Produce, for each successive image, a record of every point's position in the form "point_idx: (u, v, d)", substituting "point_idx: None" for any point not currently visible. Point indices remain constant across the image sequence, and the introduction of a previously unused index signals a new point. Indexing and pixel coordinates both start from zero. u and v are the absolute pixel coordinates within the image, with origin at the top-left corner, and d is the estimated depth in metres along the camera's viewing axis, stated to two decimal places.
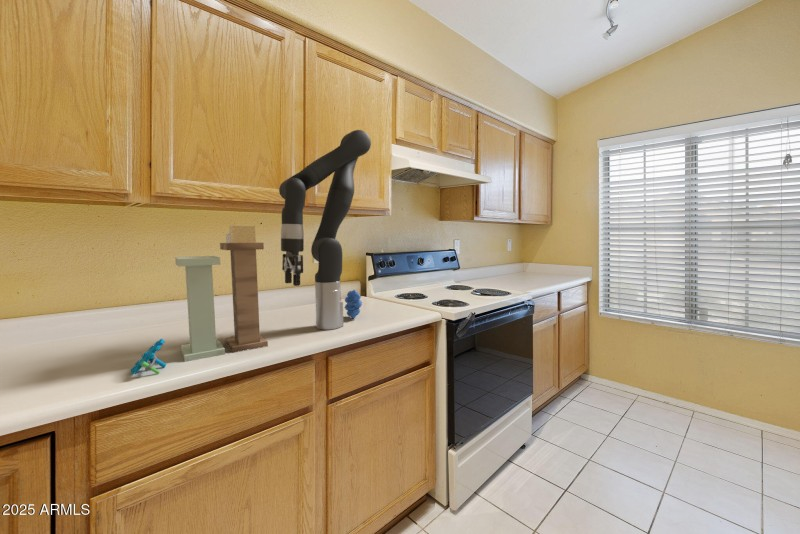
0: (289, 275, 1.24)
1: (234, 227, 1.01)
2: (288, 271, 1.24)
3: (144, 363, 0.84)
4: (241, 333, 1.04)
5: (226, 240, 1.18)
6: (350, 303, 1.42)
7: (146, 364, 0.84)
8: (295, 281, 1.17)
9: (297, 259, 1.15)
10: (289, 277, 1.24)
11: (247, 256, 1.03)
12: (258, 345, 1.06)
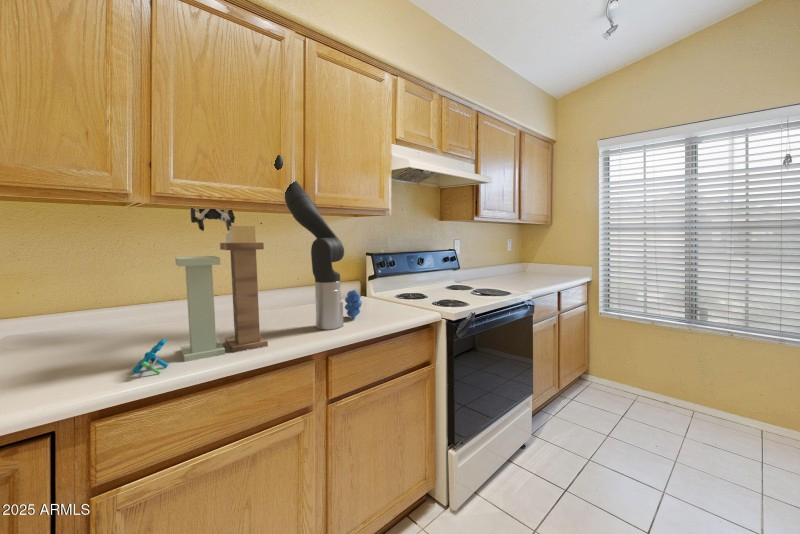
0: None
1: (234, 227, 1.01)
2: None
3: (144, 363, 0.83)
4: (241, 333, 1.04)
5: (226, 240, 1.18)
6: (350, 303, 1.42)
7: (146, 364, 0.84)
8: (230, 224, 1.29)
9: None
10: None
11: (247, 256, 1.03)
12: (258, 345, 1.06)
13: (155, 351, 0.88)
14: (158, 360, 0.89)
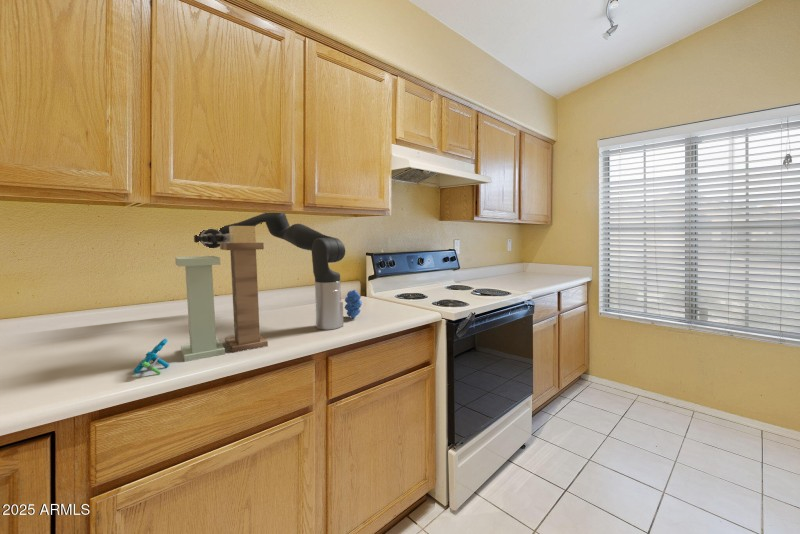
0: None
1: (234, 227, 1.01)
2: None
3: (145, 363, 0.83)
4: (241, 333, 1.04)
5: (226, 240, 1.18)
6: (350, 303, 1.42)
7: (147, 364, 0.84)
8: None
9: None
10: None
11: (247, 256, 1.03)
12: (258, 345, 1.06)
13: (156, 351, 0.88)
14: (159, 360, 0.89)
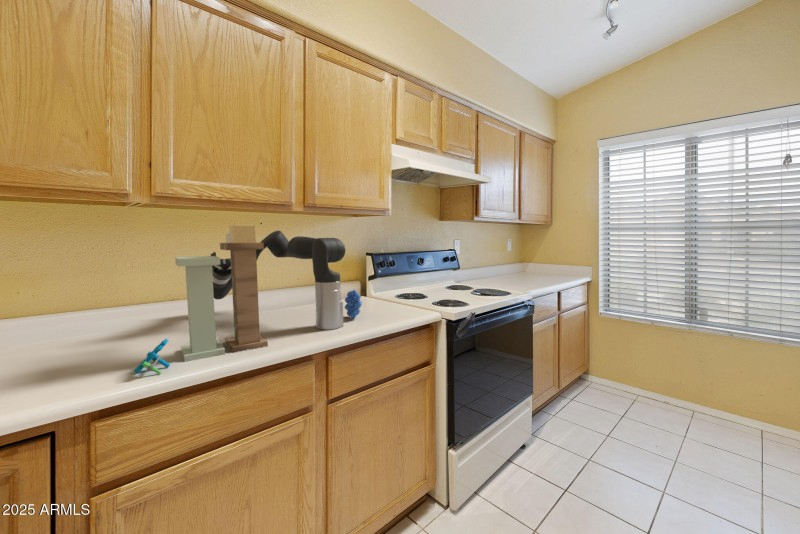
0: None
1: (234, 227, 1.01)
2: None
3: (145, 363, 0.83)
4: (241, 333, 1.04)
5: (226, 240, 1.18)
6: (350, 303, 1.42)
7: (147, 364, 0.84)
8: None
9: None
10: None
11: (247, 256, 1.03)
12: (258, 345, 1.06)
13: (156, 351, 0.88)
14: (160, 360, 0.89)
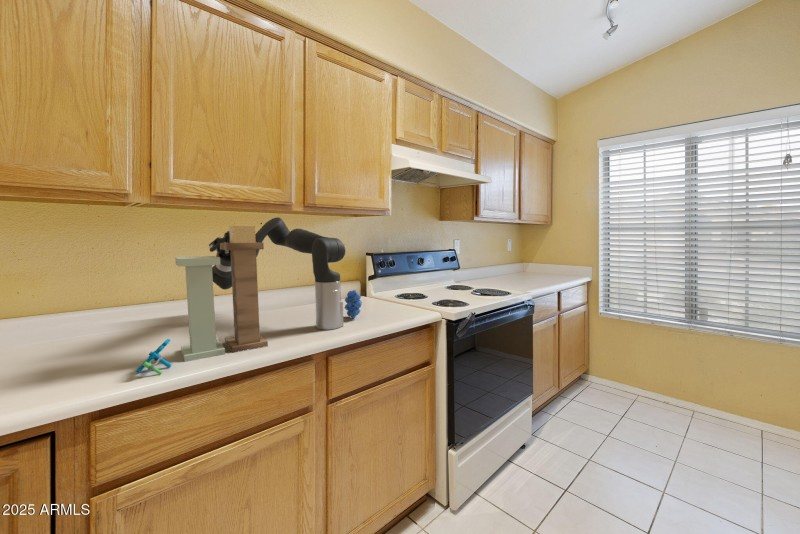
0: None
1: (234, 227, 1.01)
2: None
3: (145, 363, 0.83)
4: (241, 333, 1.04)
5: None
6: (350, 303, 1.42)
7: (147, 364, 0.84)
8: None
9: None
10: None
11: (247, 256, 1.03)
12: (258, 345, 1.06)
13: (158, 351, 0.88)
14: (161, 360, 0.89)
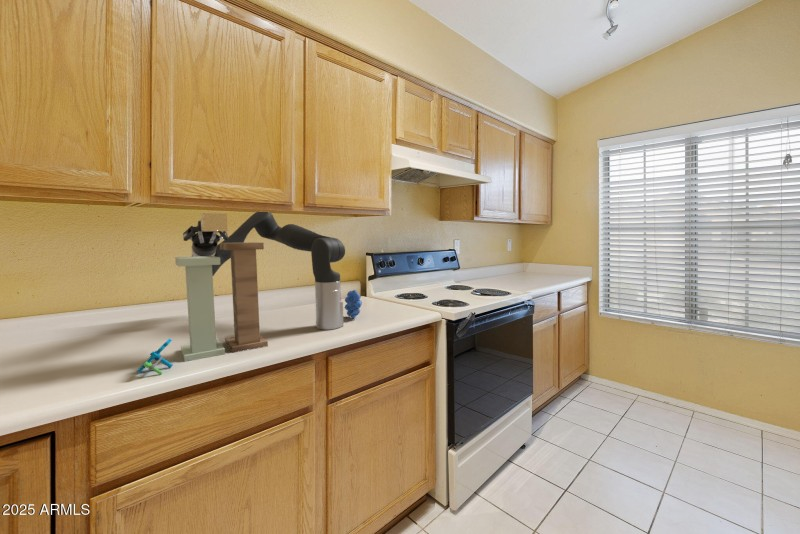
0: None
1: (204, 214, 0.97)
2: None
3: (146, 363, 0.83)
4: (241, 333, 1.04)
5: None
6: (350, 303, 1.42)
7: (148, 364, 0.84)
8: None
9: (226, 233, 1.20)
10: None
11: (247, 256, 1.03)
12: (258, 345, 1.06)
13: (159, 351, 0.88)
14: (162, 360, 0.89)
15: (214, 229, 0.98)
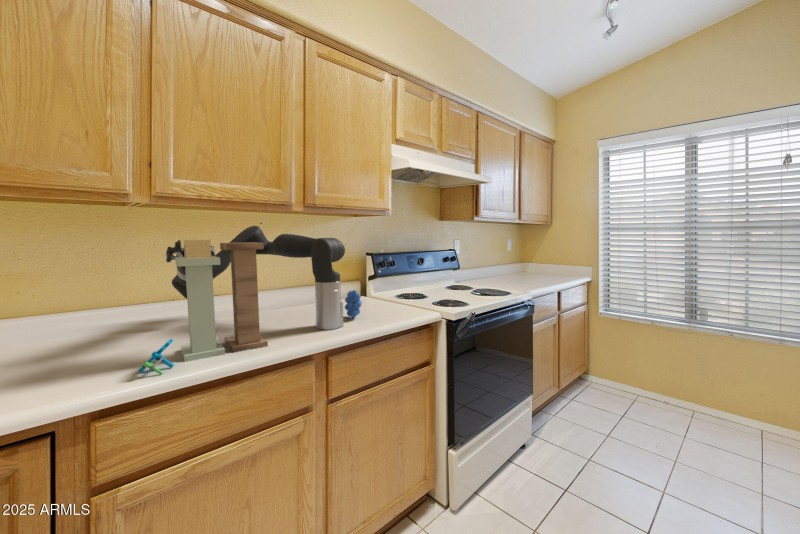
0: None
1: (186, 241, 0.94)
2: None
3: (146, 363, 0.83)
4: (241, 333, 1.04)
5: None
6: (350, 303, 1.42)
7: (148, 364, 0.83)
8: None
9: None
10: (180, 246, 1.07)
11: (247, 256, 1.03)
12: (258, 345, 1.06)
13: (160, 351, 0.87)
14: (164, 360, 0.89)
15: (197, 256, 0.96)
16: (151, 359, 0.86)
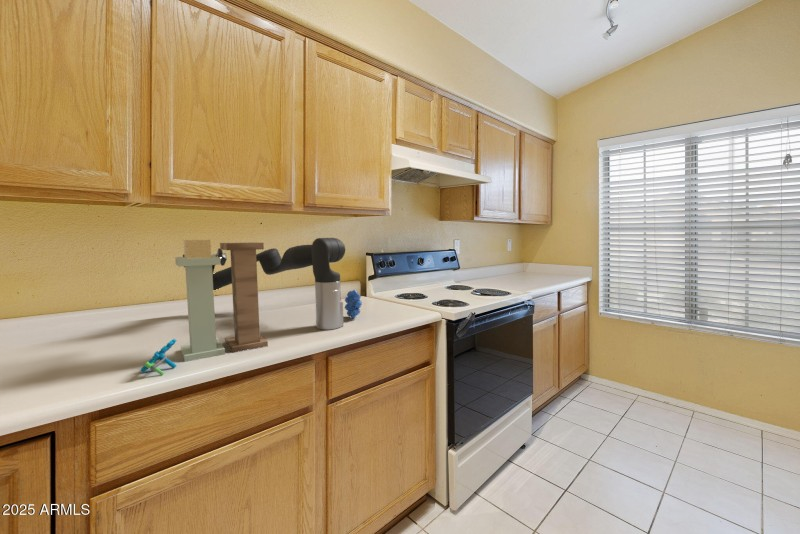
0: None
1: (186, 241, 0.94)
2: None
3: (146, 363, 0.83)
4: (241, 333, 1.04)
5: None
6: (350, 303, 1.42)
7: (148, 365, 0.83)
8: None
9: None
10: None
11: (247, 256, 1.03)
12: (258, 345, 1.06)
13: (161, 351, 0.87)
14: (166, 360, 0.89)
15: (197, 256, 0.96)
16: (152, 359, 0.86)
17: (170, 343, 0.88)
